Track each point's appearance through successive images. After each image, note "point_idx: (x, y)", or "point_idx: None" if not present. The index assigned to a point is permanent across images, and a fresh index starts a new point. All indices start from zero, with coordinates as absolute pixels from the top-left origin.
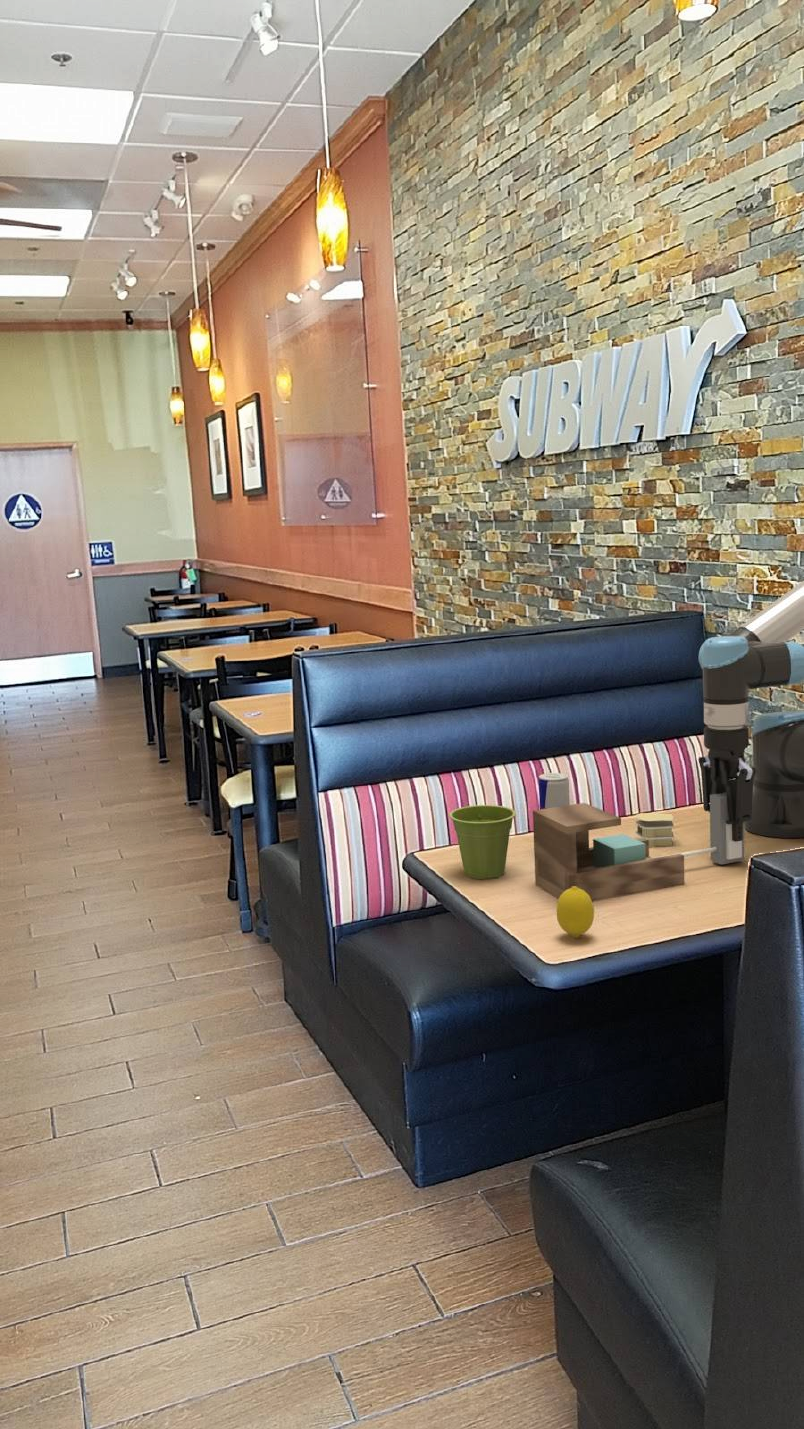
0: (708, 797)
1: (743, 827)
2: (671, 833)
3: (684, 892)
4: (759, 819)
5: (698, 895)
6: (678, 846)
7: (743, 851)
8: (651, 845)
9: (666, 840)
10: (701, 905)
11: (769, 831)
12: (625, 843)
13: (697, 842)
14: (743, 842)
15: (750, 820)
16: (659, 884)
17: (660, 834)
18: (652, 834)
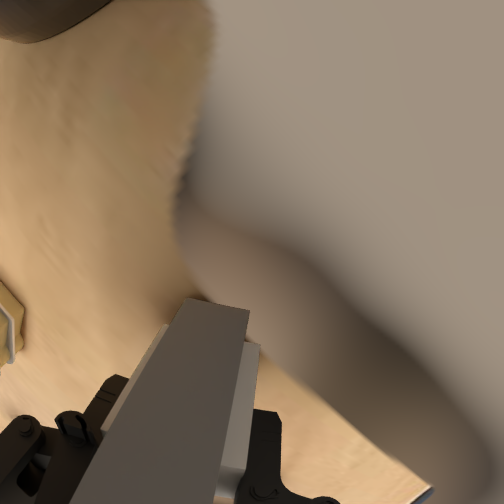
0: (32, 500)
1: (229, 411)
2: (3, 325)
3: (306, 487)
4: (28, 15)
5: (335, 482)
6: (30, 302)
7: (244, 332)
8: (21, 345)
9: (14, 324)
10: (365, 491)
11: (83, 7)
12: None
13: (18, 238)
14: (240, 357)
15: (332, 498)
16: None
17: (3, 340)
18: (5, 356)
